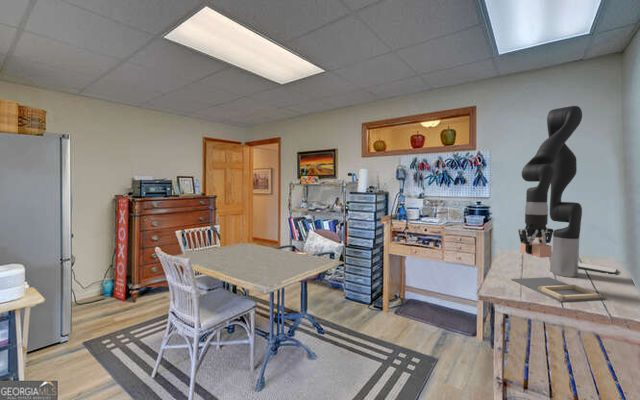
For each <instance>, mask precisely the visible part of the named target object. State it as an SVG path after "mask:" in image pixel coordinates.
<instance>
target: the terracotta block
mask: <svg viewBox="0 0 640 400" xmlns="http://www.w3.org/2000/svg"><path fill="white" fill-rule="evenodd" d="M525 247H526V245H525V244H524V243H521V242H520V246H519V249H520V251H519V252H521V253H524V254H526V255H528V254H527V253H526V251H525V250H526V248H525ZM552 249H553V245H549V244H547V243H546V244H542V243H539V241H537V242H536V241H535V240H533V242H532V254H529V255H531V256H534V257H536V258H540V259H541V258H550V257H551V251H552Z"/></svg>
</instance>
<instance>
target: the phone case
mask: <svg viewBox="0 0 640 400" xmlns="http://www.w3.org/2000/svg"><path fill="white" fill-rule="evenodd" d="M578 270H583V271H590V272H595V273H601V274H606V273H608V274H607V275H612V274H616V275H617V274H618V273H619V272H618V271H619V270H618V269H616V268H612V267H606V266H601V265H593V264H587V263H582V262H578Z"/></svg>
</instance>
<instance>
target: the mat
mask: <svg viewBox="0 0 640 400" xmlns="http://www.w3.org/2000/svg"><path fill="white" fill-rule="evenodd" d="M510 280H511V281H513V282H515V283H518V284H519V285H521V286H524V287H526V288H529V289H531V290H533V291H535V292H538V293H540V294H542V295H544V296H546V297H549V298H551V299H553V300H556V301H558V302H560V303H568V302H570V303H571V302H587V301H604V300H605V299H608V298H606V297H603V296H602V294H600V293H598V292H595V291H593V290H590V289H587V288H584V287H581V286H579V285H576V284H568V283H566V282H563V281H561V280H558V279H555V278H552V277H549V276H546V277H524V278H520V277H519V278H511V279H510ZM605 301H606V300H605Z"/></svg>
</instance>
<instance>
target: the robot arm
mask: <svg viewBox="0 0 640 400" xmlns="http://www.w3.org/2000/svg"><path fill="white" fill-rule="evenodd" d="M582 119H583V111H582V108H581V107H580V106H578V105H570V106H565V107H560V108H554V109H550V111H548V113H547V116H546V125H547V132H548V133H547V134H548V138H547V139H545V140H544V141H543V142H542V143H541V145H540V146H539V148H538V150H537V152H536V153H535V155H534V156H533V157H532V158H531V159H530V160H529V161H528V162H527V163H526V164H525V165H524V166H523V168H522V171H521V177H522V179H523V180H524V181H525V182H532V183H533V182H538V184H537V185H536V186H534V187H529V188H527V189H526V193H525V194H526V197H525V198H526V199H525V208H524V210H525V211H524V214H525V215H524V223H525V227H524V228H522V229H521V228H519V229H518V236H519V241H520V244H521V243H524V244H525V245H526V247H525V248H526V250H525V251H526V253H527V254H526V253H525V254H526V255H530V254H532V242H533V241H535V240H536V239H537V242H538V243H542V244H546V245H547V244H551V241H552V250H551V257H549V259H550V261H549V262H550V263H549V271H550V272H551V273H552V274H554V275H557V276H561V277H568V278H569V277H570V278H576V277H578V276H579V269H578V263H579V261H580V259H579V256H580V254H579V253H580V236H581V235H580V233H581V226H582V216H583V208H582V205H581V204H580V203H579V202H573V201H572V202H571V201H568V202H567V201H562V196H563V193H564V191H565V189H567V187H568V186H569V184H570V183H571V182H572V180H573V179H574V178H575V176H576V175H577V171H578V170H577V169H578V167H577V164H578V163H577V157H576V154H575V153H574V152H573V150H571V148H570V147H569V146H568V145H567V144H566V142H567V141H568V139H569V138H570V137H571V136H572V135H573V133H574V132H575V131H576V130H577V128H578V127H579V125H580V124H581V122H582ZM549 189H550V197H549V206H548V194H549ZM548 212H549V213H548ZM548 217H550V219H551V221H553V222H559V223H568V226H565V227H563V228H558V229H553V228H549V227H547V225H548V222H549V221H548Z"/></svg>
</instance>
